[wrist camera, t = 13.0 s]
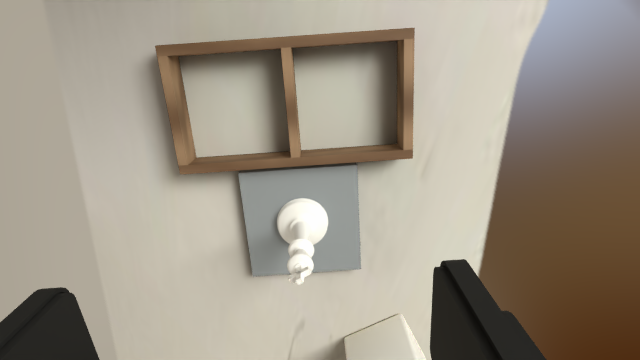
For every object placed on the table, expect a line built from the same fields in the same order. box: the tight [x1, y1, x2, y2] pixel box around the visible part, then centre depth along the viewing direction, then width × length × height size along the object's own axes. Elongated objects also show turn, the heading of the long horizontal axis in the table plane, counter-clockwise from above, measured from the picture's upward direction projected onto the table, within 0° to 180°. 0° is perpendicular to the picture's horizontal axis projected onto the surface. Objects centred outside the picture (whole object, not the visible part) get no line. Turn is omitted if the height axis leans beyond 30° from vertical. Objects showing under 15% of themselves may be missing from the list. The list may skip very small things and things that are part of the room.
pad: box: [238, 162, 361, 277], centre depth 36 cm, size 11×11×1 cm
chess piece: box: [277, 198, 328, 285], centre depth 30 cm, size 5×5×10 cm
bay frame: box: [155, 28, 414, 174], centre depth 31 cm, size 11×20×2 cm, turn 94°
